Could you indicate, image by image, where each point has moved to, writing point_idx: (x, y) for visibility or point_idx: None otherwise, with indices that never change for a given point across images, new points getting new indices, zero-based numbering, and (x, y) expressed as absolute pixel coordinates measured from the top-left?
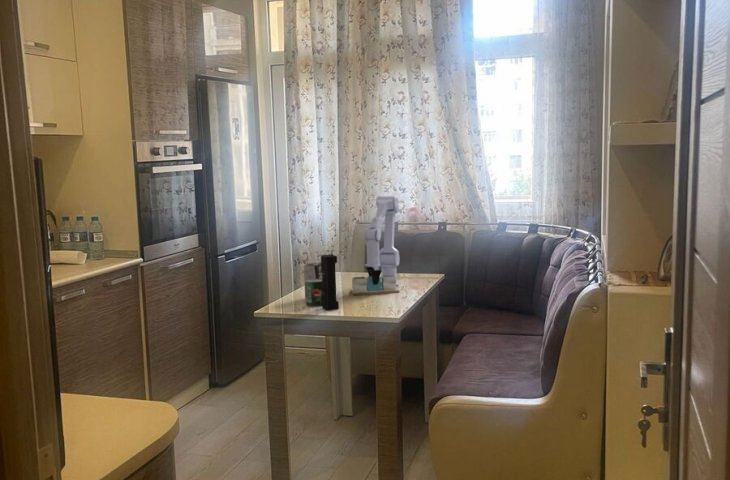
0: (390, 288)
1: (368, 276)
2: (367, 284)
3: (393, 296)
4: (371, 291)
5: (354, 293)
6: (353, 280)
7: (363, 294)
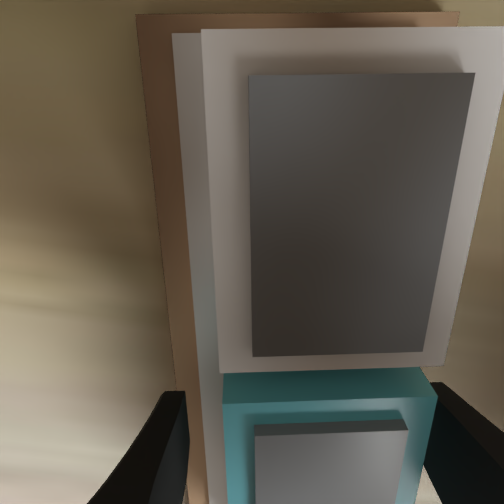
0: None
1: (378, 438)
2: None
3: (5, 454)
4: (194, 303)
5: (163, 50)
6: (249, 33)
7: (158, 187)
